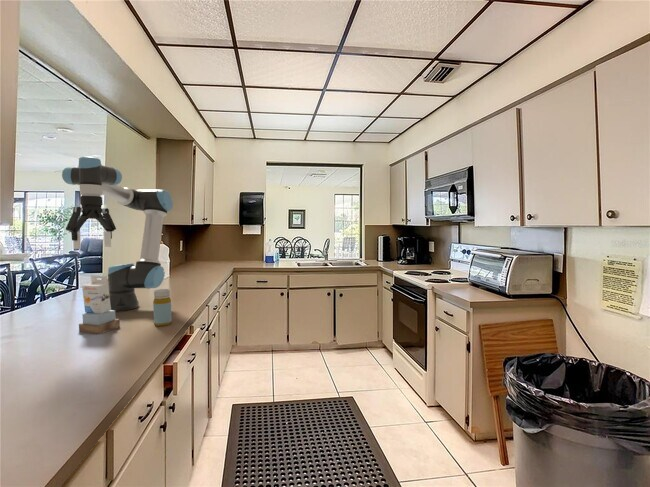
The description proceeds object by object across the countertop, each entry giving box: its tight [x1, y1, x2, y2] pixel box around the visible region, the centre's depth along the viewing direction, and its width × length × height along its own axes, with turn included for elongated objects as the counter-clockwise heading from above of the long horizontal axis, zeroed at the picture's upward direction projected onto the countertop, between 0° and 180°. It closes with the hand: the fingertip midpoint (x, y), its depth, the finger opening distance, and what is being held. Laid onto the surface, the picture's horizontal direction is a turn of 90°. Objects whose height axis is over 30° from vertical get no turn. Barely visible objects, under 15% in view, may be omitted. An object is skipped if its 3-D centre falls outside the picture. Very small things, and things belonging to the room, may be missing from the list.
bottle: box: [152, 288, 172, 327], centre depth 149 cm, size 7×7×15 cm
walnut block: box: [78, 318, 121, 335], centre depth 141 cm, size 10×10×4 cm
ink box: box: [81, 275, 111, 314], centre depth 140 cm, size 8×5×15 cm, turn 79°
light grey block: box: [82, 310, 117, 325], centre depth 141 cm, size 8×8×4 cm
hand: (93, 247), depth 139 cm, fingers open, 13 cm apart
